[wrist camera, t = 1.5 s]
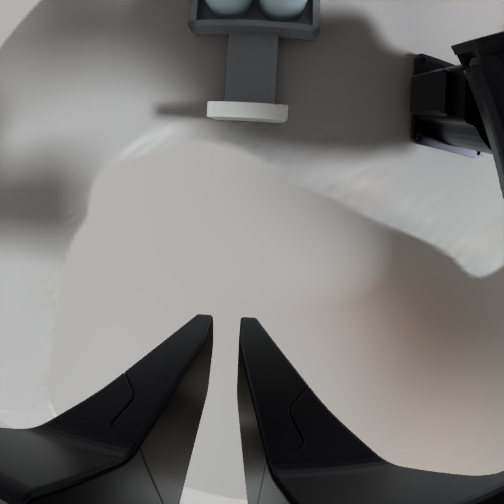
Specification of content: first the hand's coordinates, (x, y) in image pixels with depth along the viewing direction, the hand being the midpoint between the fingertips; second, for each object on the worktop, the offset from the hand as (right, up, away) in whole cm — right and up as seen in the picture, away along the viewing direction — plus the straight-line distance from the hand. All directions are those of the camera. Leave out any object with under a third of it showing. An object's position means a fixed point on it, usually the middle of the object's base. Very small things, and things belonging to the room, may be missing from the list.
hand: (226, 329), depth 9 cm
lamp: (+1, +15, +8) cm, 17 cm away
